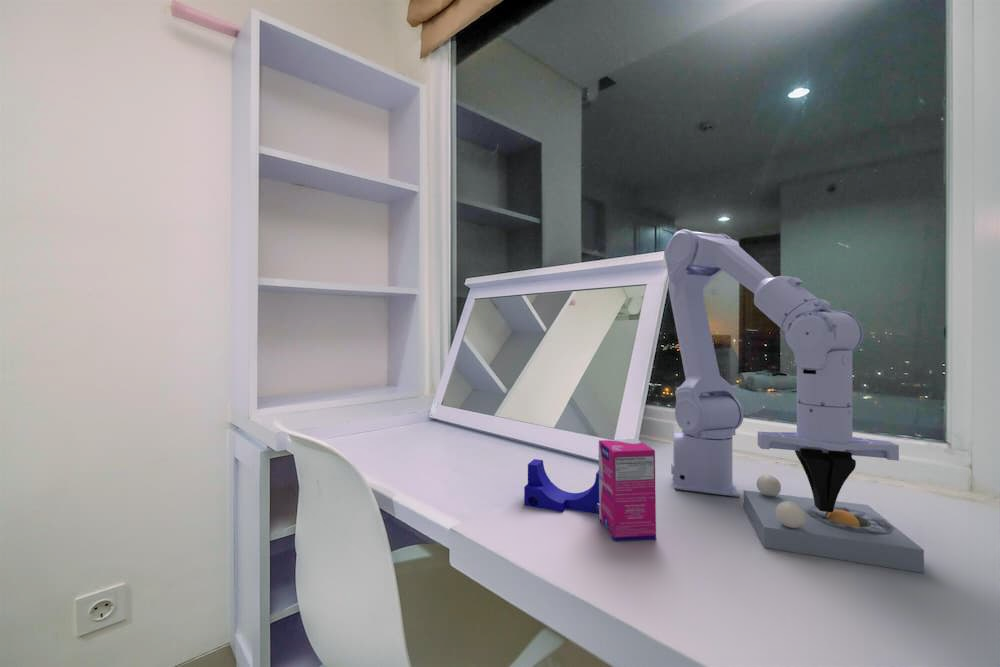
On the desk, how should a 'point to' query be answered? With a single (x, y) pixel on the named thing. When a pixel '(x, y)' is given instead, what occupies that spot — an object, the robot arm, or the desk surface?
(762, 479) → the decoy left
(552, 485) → the blue curved bracket
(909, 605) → the desk surface
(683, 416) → the robot arm
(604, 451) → the supplement box
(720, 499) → the desk surface
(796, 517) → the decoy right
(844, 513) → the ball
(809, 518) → the grey socket plate
